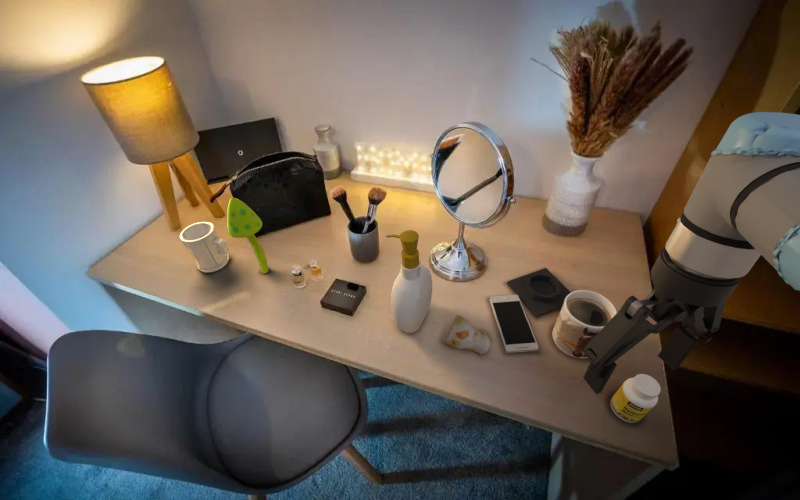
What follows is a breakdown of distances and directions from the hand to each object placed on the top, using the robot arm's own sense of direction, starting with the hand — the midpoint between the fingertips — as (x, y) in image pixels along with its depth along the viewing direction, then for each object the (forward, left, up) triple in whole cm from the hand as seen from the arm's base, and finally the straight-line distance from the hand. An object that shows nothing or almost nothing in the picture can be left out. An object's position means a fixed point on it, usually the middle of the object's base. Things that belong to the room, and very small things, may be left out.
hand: (630, 373), depth 52 cm
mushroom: (+68, +53, -19) cm, 88 cm away
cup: (+78, +66, -19) cm, 104 cm away
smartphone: (+25, 0, -19) cm, 31 cm away
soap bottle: (+36, +21, -19) cm, 46 cm away
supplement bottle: (0, -8, -19) cm, 21 cm away
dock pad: (+30, -12, -19) cm, 37 cm away
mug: (+15, -11, -19) cm, 27 cm away
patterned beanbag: (+24, +12, -19) cm, 33 cm away
